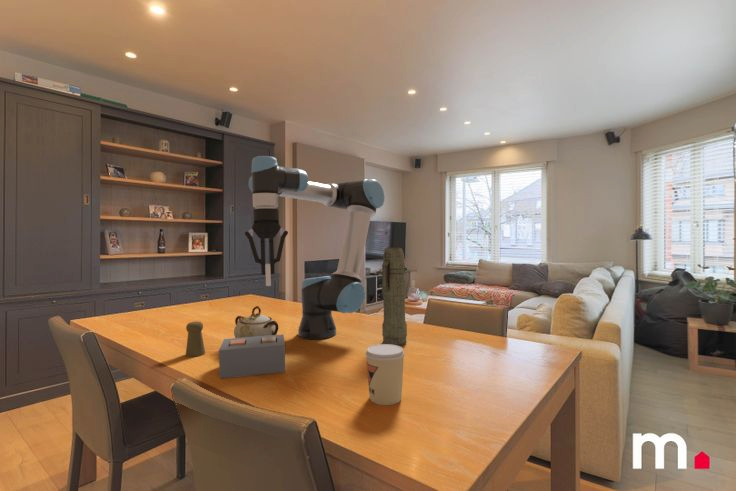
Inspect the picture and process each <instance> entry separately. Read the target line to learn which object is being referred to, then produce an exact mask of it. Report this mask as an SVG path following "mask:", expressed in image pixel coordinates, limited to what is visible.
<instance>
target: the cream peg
mask: <svg viewBox="0 0 736 491" xmlns="http://www.w3.org/2000/svg"><path fill="white" fill-rule="evenodd" d="M271 342H276V337H265V338H262V343H271Z"/></svg>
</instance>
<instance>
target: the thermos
mask: <svg viewBox="0 0 736 491" xmlns="http://www.w3.org/2000/svg"><path fill="white" fill-rule="evenodd" d="M382 257H383V259H382V261H383V262H382V264H381V270H382V271H381V275H382V276H381V279H382V280H381V295H382V297H383V321H382V323H381V324H382V326H381V328H382V335H381V336H382V344H392V345H397V346H400V347H401V346H404V345H406V344H407V342H408V341H407V336H408V324H407V322H406V296H407V279H406V277H405V273H406V272H405V254H404V251H403V248H401V247H398V246H389V247H386V248H384V252H383V256H382Z"/></svg>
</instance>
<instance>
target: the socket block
mask: <svg viewBox="0 0 736 491" xmlns="http://www.w3.org/2000/svg"><path fill="white" fill-rule="evenodd" d="M265 337H276V342H271V343H262V338H265ZM240 339H245V345H235V346H230V342H231V340H240ZM218 364H219V369H218V371H219V372H218V373H219V380H220V379H229V378H238V377H239V378H240V377H249V376H258V375H269V374H278V373H286V345H285V335H284V334H277V335H269V336H256V337H243V338H235V337H232V338H231V337H230V338H224V339H223V341H222V343H221V345H220V347H219V349H218Z"/></svg>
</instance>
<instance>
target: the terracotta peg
mask: <svg viewBox="0 0 736 491" xmlns="http://www.w3.org/2000/svg"><path fill="white" fill-rule="evenodd" d="M235 345H245V339H240V340H231V342H230V346H235Z"/></svg>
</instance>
